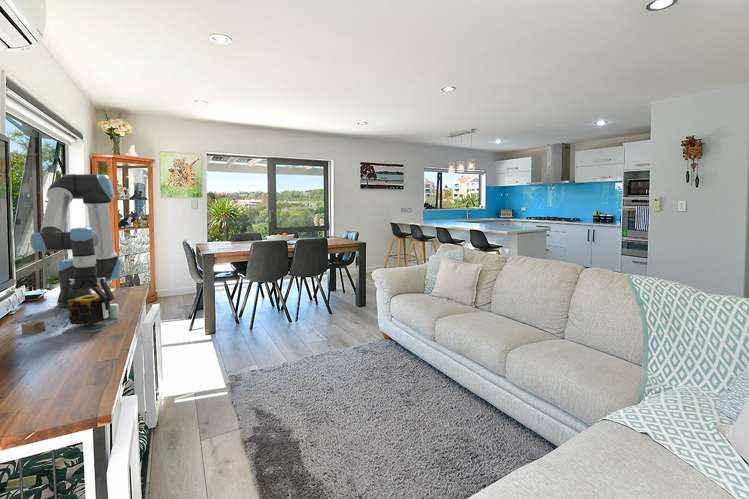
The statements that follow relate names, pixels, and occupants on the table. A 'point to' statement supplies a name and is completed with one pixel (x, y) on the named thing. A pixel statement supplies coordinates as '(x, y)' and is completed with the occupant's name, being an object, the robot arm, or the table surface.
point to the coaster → (90, 327)
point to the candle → (86, 310)
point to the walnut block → (33, 327)
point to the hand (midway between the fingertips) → (90, 318)
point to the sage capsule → (114, 312)
